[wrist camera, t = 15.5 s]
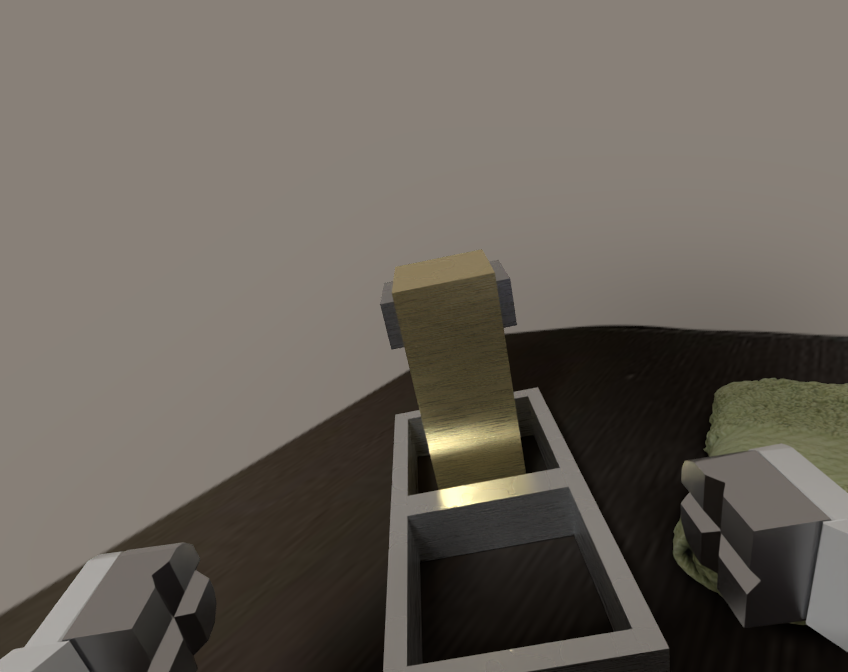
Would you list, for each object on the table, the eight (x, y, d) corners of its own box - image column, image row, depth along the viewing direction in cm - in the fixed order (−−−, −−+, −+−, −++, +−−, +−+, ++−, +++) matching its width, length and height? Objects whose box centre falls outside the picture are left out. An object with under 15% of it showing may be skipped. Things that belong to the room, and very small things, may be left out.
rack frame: (401, 749, 15) (381, 695, 14) (405, 452, 29) (395, 414, 28) (670, 707, 14) (668, 648, 14) (543, 426, 28) (537, 387, 27)
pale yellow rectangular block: (431, 517, 23) (376, 296, 19) (429, 464, 27) (382, 269, 23) (543, 498, 23) (510, 269, 19) (525, 447, 27) (494, 246, 23)
